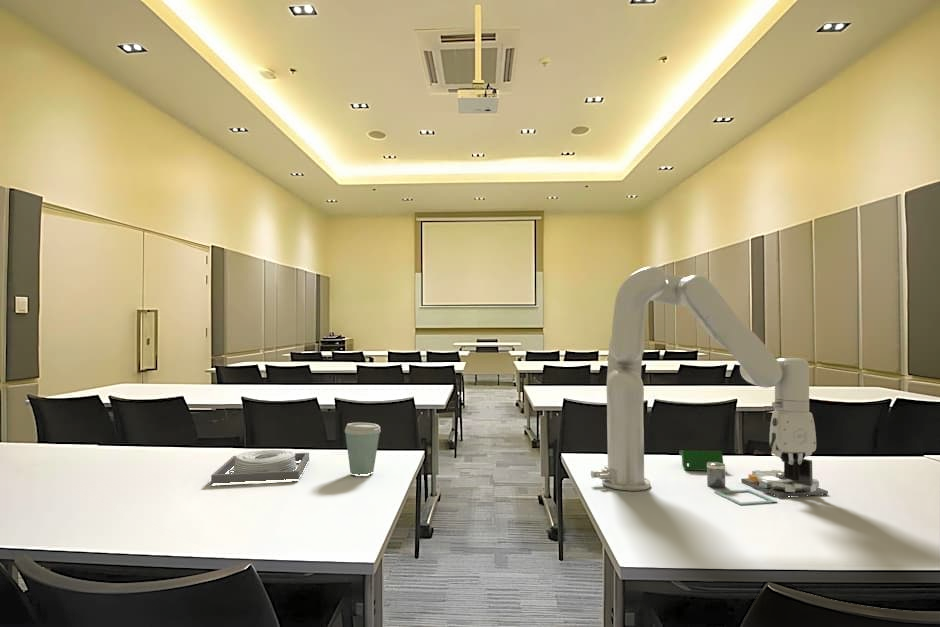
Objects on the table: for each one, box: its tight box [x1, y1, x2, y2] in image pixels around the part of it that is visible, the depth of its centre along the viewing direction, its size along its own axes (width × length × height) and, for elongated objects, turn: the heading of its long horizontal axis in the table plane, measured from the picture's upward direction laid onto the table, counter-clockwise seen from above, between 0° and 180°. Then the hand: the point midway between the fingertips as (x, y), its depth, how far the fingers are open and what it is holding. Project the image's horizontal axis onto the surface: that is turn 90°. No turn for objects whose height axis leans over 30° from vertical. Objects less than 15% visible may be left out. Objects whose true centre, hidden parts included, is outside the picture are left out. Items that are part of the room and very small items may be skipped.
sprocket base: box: [741, 477, 829, 498], centre depth 142 cm, size 14×14×1 cm
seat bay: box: [714, 489, 778, 506], centre depth 134 cm, size 10×10×1 cm
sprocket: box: [747, 458, 820, 492], centre depth 142 cm, size 16×16×8 cm
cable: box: [229, 449, 297, 474], centre depth 160 cm, size 18×18×6 cm
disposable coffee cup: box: [344, 422, 382, 475], centre depth 158 cm, size 11×11×15 cm
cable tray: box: [210, 452, 310, 485], centre depth 159 cm, size 23×23×3 cm
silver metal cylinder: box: [706, 462, 726, 490], centre depth 144 cm, size 4×4×6 cm
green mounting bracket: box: [678, 449, 724, 471], centre depth 163 cm, size 12×6×9 cm, turn 75°
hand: (791, 478), depth 136 cm, fingers closed
